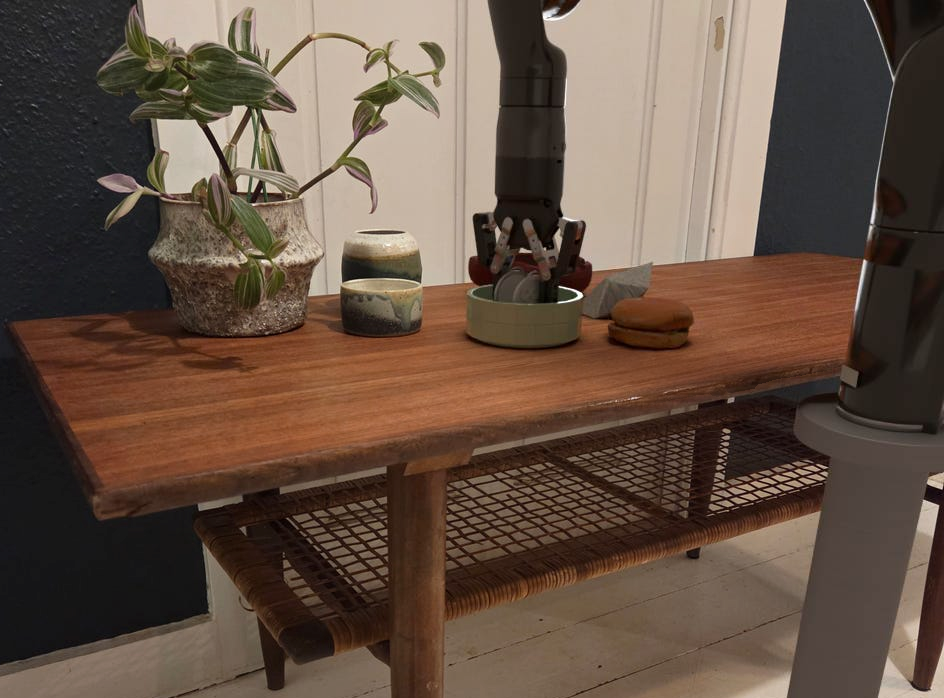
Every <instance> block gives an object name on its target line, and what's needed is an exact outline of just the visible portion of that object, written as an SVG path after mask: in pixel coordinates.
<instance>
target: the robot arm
mask: <svg viewBox="0 0 944 698" xmlns="http://www.w3.org/2000/svg"><path fill="white" fill-rule="evenodd" d="M863 1H864V3H865V5H866V8H867V9H868V12H869V14H870V17H871V19H872V21H873V25H874V27H875V29H876V31H877V34H878V38H879V40H880V44H881V47H882V50H883V53H884V56H885V59H886V63H887V65H888V69H889V72H890V76H891V79H892V80H891V81H892V83H893V84H892V87H891V93H890V98H889V104H888V108H887V109H888V110H887V114H886V122H885V126H884V133H883V138H882V143H881V150H880V155H879V156H880V157H879V162H878V167H877V173H876V179H875V184H874V194H873V202H872V209H871V215H870V221H869V227H868V231H867V237H866V243H865V249H864V254H863V260H862V266H861V271H860V274H859V275H860V276H859V282H858V287H857V292H856V293H857V294H856V297H855V304H854V309H853V314H852V320H851V325H850V331H849V336H848V341H847V347H846V353H845V359H844V364H841V371H840V376H839V380H840V381H841V382H840V386H839V388H838V392H839V397H838V401H837V402H836V407H835V411H836V413H837V414H838V415H839V416H841V417H842V418H844V419H846V420H848V421H851V422H853V423H856V424H859V425H863V426H867V427H871V428H876V429H881V430H888V431H896V432H917V433H927V434H932V435H936V434H937V433H938V432H939V431H940V429H941V428H943V427H944V0H863ZM581 2H582V0H487V6H488V11H489V17H490V22H491V27H492V32H493V38H494V43H495V49H496V51H497V55H498V60H499V68H500V69H499V95H498V96H499V97H498V98H499V99H498V100H499V101H498V106H499V107H498V115H497V121H496V129H495V157H494V158H495V159H494V161H495V163H494V167H495V168H494V195H495V197H496V205H495V207H494V210H493V211H483V212H475V213H474V214H473V215H472V227H473V234H474V239H475V240H474V241H475V247H476V249H475V250H476V256H477V257H478V263H479V265H480V266H482V267H483V266H485V267H487V268H488V269H490V270H491V272H492V274H493V289H492V291H493V292H492V297H493V301H494V292H495V288H496V285H497V283H498V281H499V280H500V279H501V277H502V276H503V275H505V274H506V273H508V271H509V270H510V269H511V267H512V264H513V261H514V259H515V256H516V255H517V254H518V253H521V252H520V251H521V249H524V250H526V251H530V252H531V253H532V255H533V258H534V260H535V261H536V262H537V263H538V266H539V270H540V273H541V277H542V279H543V280H542V281H540V285H539V303H555V302H558V289H559V280H560V278H561V277H563V276H567V275H571V274H574V273H575V272H576V268H577V264H578V260H579V256H581V251H582V247H583V242H584V238H585V235H586V234H585V233H586V229H587V223H586V221H585V220H583V219H576V220H575V219H572V218H569V217H565V216H564V212H563V210H562V206H561V203H562V199H563V197H564V187H565V186H564V185H565V184H564V183H565V168H566V167H565V165H566V152H567V151H566V150H567V121H566V103H567V82H568V58H567V56H566V53H565V51H564V50H563V49H562V48H560V47H559V46H557V45H555V44H554V43H552V42H551V41H550V40H549V37H548V35H547V32H546V26H545V25H546V24H545V21H557V20H562V19H564V18H565V17H566V18H567V17H568V15H570V14H571V13H572V12H573V11H574V10H575V9H577V7H578V6H579V4H580V3H581ZM497 228H498V230H499V232H500V234H499V236H498V239H497V236H496V229H497ZM559 230H560V233H559V236H560V237H561V242H560V247H558V244H557V241H556V237H555V236H556V234H557V233H558V231H559ZM558 255H559V256H558Z"/></svg>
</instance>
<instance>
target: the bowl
mask: <svg viewBox="0 0 944 698" xmlns="http://www.w3.org/2000/svg"><path fill="white" fill-rule="evenodd" d="M492 289H493V285H485V286H475V287H472V288H470V289H468V290H466V319H465V320H466V329H465V330H466V331H465V333H466V334H467V335H468V336H469V337H471V338H473V339H476V340H477V341H480V342H482V343H485V344H489V345H492V346H497V347H506V348H516V349H540V348H542V349H543V348H550V347H551V348H553V347H557V346H562V345H565V344H568V343H569V342H572V341H575V340H577V339H578V338H580V336H581V335H582V325H583V323H582V322H583V314H582V310H583V299H584V294H583V292H582V293H581V292H578V291H576V290H574V289H569V288H565V287H560V286H559V289H558V302H555V303H538V304H529V303H508V302H498V301H493V297H492V292H493V291H492Z"/></svg>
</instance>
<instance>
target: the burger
mask: <svg viewBox="0 0 944 698" xmlns="http://www.w3.org/2000/svg"><path fill="white" fill-rule="evenodd" d="M611 316H612V317H611V319H612V321H613V322H612V321H611V322H608V324H607V331H608V336H609V337H610V338H612V339H615V340H616V341H617V342H621V343H622V344H626V345H630V346H633V347H641V348H642V347H643V348H644V347H645V348H646V347H647V348H653V349H675V348H679V347H681V346H682V345H684V343H685V342H686V341H687V339H688V337H689V332H690V328H691V327H692V326H693V325H694V323H695V319H694V313H693V311H692V309H691V308H690V307H689V305H687V304H686V303H685V302H682V301H680V300H677V299H674V298H673V299H672V298H665V297H651V296H643V297H642V296H641V297H639V298H636V299H634V298H628V299H625V300H622V301H620V302H618V303H617V304H616V305H615V306H614V307H613V309H612V312H611Z"/></svg>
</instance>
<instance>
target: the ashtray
mask: <svg viewBox="0 0 944 698" xmlns="http://www.w3.org/2000/svg"><path fill="white" fill-rule="evenodd" d="M558 256H559V255H558ZM514 267H522V268H523V269H524V270H525V273H527V274H529V273H530V272H532V271H539V272H540V270H539V266H538V263H537V262H536V261H535V260H534V258H533V255H532V252H519V253H518V254H517V255H516V256H515V259H514V261H513V264H512V267H511V269H512V268H514ZM511 269H510V270H511ZM510 270H509V271H508V272H510ZM514 270H519V271H522V270H521V269H519V268H518V269H514ZM467 271H468V277H469V280H470V281H471V282H472V283H473V284H474V285H476V286H477V287H479V286H485V285H493V274H492V272H491V270H490V269H488V268H487V267H485V266H483V267H482V266H480V265H479V263H478V257H477V255H472V256H470V257H469V258H468V265H467ZM531 275H540V274H539V273H533V274H531ZM531 275H530V276H531ZM592 279H593V264H592V262H590V261H588V260H586V259H585V258H584V257H582V256H581V255H579V260H578V264H577V268H576V272H575V273H574V274H571V275H567V276H563V277H561V278H560V280H559V286H560V287H565V288H569V289H574V290H576V291H578V292H581V293H582V294H583V292H584V291H586V289H587V288H589V286H590V284H591V282H592Z"/></svg>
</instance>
